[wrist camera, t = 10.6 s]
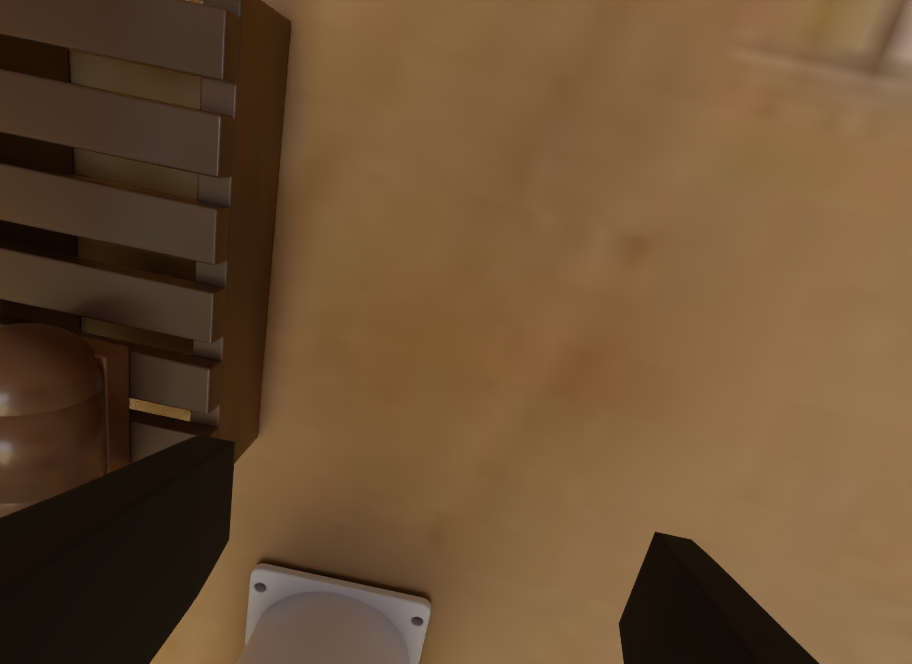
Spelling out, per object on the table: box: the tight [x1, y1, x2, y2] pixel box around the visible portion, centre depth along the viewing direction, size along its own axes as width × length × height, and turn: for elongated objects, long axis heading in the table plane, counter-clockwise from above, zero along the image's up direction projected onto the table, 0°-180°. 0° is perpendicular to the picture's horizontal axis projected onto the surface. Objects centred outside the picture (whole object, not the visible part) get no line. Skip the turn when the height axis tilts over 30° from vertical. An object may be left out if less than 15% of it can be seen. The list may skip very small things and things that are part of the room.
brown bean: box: [0, 323, 130, 518], centre depth 14 cm, size 6×3×3 cm, turn 169°
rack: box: [0, 0, 290, 463], centre depth 16 cm, size 15×8×4 cm, turn 169°
